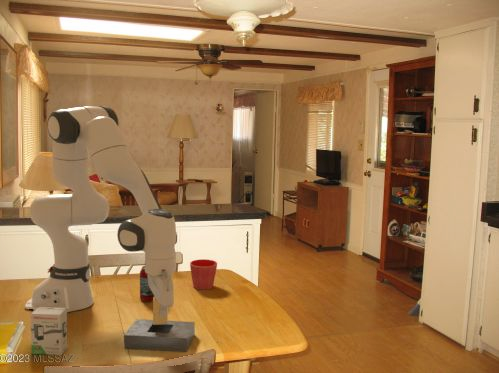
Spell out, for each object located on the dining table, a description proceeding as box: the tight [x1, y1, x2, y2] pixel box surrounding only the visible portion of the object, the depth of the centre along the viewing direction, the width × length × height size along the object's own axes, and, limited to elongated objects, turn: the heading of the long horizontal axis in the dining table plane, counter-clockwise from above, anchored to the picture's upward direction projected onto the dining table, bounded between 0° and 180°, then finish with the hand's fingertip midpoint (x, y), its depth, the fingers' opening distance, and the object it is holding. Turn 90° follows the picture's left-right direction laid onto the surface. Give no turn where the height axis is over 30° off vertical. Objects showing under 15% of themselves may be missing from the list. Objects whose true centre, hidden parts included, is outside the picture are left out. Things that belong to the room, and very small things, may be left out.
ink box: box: [30, 307, 68, 356], centre depth 141 cm, size 9×5×12 cm, turn 90°
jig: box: [123, 318, 196, 353], centre depth 149 cm, size 18×12×4 cm, turn 86°
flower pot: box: [189, 258, 218, 291], centre depth 200 cm, size 11×11×10 cm
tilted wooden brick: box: [152, 296, 169, 325], centre depth 148 cm, size 4×4×8 cm
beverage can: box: [139, 265, 154, 302], centre depth 184 cm, size 7×7×12 cm
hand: (160, 311), depth 149 cm, fingers closed on tilted wooden brick, 5 cm apart
